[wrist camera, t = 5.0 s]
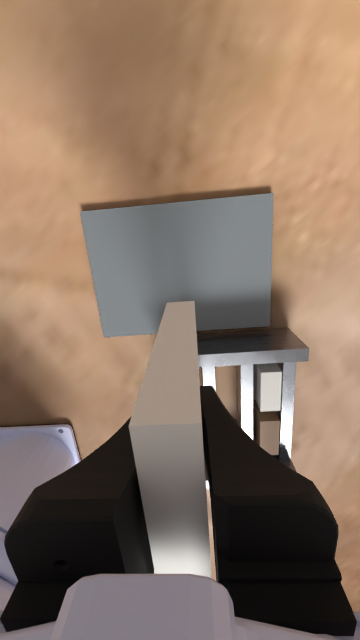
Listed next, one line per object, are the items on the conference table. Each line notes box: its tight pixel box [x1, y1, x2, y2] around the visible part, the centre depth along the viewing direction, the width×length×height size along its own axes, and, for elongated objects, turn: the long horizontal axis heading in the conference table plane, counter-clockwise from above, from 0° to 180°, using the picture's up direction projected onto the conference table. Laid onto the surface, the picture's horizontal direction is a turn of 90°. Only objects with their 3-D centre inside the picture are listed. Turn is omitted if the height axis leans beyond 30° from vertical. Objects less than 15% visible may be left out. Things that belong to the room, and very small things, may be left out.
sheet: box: [129, 301, 212, 579], centre depth 12 cm, size 2×8×10 cm, turn 4°
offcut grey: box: [253, 363, 282, 412], centre depth 22 cm, size 2×4×3 cm, turn 5°
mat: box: [80, 193, 273, 337], centre depth 21 cm, size 14×10×1 cm
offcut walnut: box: [253, 400, 280, 455], centre depth 24 cm, size 2×4×3 cm, turn 5°
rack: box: [197, 328, 309, 489], centre depth 23 cm, size 11×13×4 cm
